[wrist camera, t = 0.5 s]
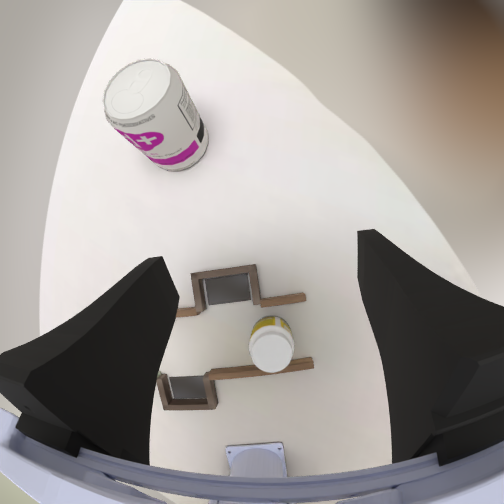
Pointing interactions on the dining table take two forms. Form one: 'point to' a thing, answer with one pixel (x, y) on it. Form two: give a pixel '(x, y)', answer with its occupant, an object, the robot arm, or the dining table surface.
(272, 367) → the supplement bottle
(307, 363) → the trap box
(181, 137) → the supplement can
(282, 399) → the dining table surface
